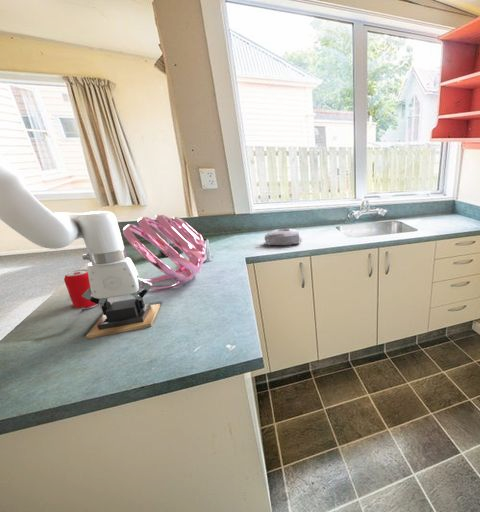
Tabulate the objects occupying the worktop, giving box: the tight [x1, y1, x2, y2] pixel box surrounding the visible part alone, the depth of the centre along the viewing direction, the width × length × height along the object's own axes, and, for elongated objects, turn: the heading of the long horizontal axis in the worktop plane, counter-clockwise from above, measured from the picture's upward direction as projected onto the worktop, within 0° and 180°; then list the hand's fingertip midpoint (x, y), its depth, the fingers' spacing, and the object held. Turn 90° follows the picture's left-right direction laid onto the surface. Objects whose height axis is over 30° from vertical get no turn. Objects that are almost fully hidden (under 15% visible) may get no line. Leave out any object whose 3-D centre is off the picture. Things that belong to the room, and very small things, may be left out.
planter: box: [198, 238, 213, 263], centre depth 139 cm, size 4×4×10 cm
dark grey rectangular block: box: [105, 298, 139, 322], centre depth 87 cm, size 6×6×4 cm
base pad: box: [86, 303, 161, 340], centre depth 88 cm, size 14×14×2 cm
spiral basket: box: [122, 214, 207, 291], centre depth 111 cm, size 28×28×27 cm
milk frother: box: [153, 227, 190, 258], centre depth 151 cm, size 14×16×15 cm
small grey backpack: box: [263, 228, 301, 246], centre depth 171 cm, size 15×8×20 cm
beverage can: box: [63, 269, 98, 311], centre depth 95 cm, size 6×6×12 cm
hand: (125, 313), depth 88 cm, fingers closed on dark grey rectangular block, 6 cm apart
